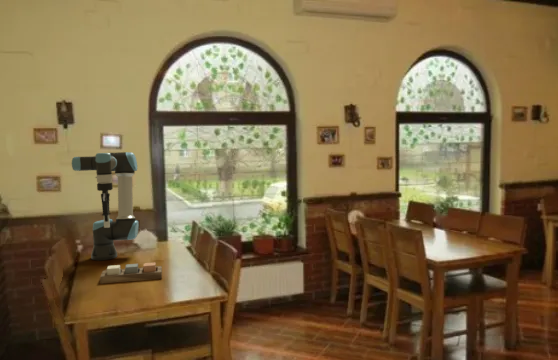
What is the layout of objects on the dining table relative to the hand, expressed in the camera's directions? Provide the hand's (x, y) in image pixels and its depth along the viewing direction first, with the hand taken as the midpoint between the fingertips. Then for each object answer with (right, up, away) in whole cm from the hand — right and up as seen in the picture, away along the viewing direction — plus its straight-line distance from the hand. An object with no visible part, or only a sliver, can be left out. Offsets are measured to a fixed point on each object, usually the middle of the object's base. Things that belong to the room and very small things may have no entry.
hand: (106, 227), depth 253 cm
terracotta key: (+22, -24, +1) cm, 33 cm away
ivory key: (+5, -25, -3) cm, 25 cm away
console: (+13, -26, -1) cm, 30 cm away
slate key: (+14, -24, -1) cm, 28 cm away
